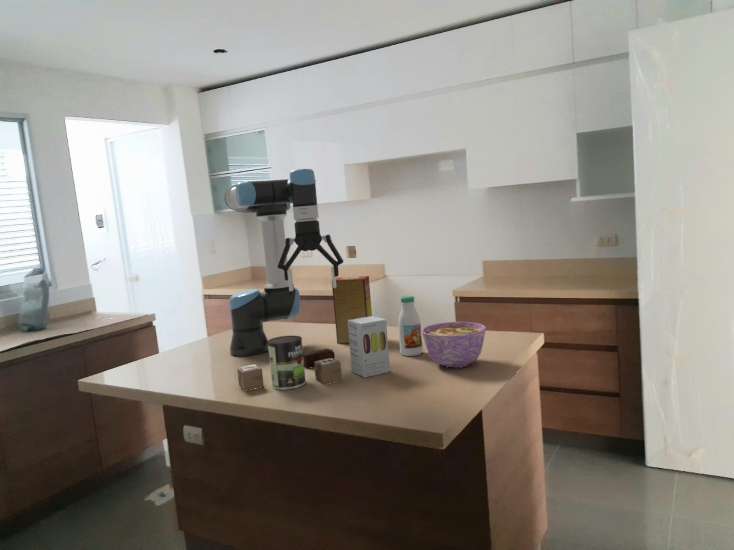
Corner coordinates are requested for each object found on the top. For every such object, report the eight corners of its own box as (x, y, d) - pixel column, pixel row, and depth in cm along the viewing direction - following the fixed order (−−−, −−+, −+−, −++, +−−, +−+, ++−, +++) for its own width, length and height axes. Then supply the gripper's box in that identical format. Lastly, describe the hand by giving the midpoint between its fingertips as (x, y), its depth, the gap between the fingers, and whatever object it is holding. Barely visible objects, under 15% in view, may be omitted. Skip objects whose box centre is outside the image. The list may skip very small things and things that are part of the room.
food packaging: (374, 337, 222) (369, 275, 219) (369, 342, 213) (364, 278, 210) (342, 338, 225) (337, 277, 223) (336, 343, 216) (330, 280, 214)
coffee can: (312, 381, 170) (308, 336, 169) (291, 391, 162) (286, 344, 160) (287, 378, 176) (282, 334, 174) (264, 388, 167) (260, 342, 166)
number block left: (239, 387, 171) (236, 367, 170) (258, 382, 174) (255, 363, 173) (244, 391, 166) (242, 371, 165) (263, 387, 168) (261, 367, 168)
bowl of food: (438, 354, 189) (436, 320, 188) (496, 357, 179) (494, 322, 178) (413, 371, 172) (410, 334, 171) (475, 376, 162) (473, 337, 161)
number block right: (316, 380, 171) (314, 360, 170) (333, 376, 174) (332, 357, 173) (323, 385, 165) (321, 364, 165) (342, 381, 168) (340, 360, 168)
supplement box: (363, 378, 169) (359, 324, 167) (350, 371, 177) (346, 319, 175) (391, 371, 173) (386, 318, 171) (377, 365, 181) (372, 315, 179)
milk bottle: (397, 356, 190) (392, 298, 188) (404, 350, 198) (400, 295, 195) (419, 357, 188) (414, 298, 185) (425, 351, 195) (421, 294, 192)
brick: (307, 369, 184) (306, 355, 184) (302, 367, 188) (301, 353, 187) (335, 362, 190) (334, 349, 189) (329, 360, 193) (328, 347, 193)
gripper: (263, 224, 167) (270, 293, 170) (345, 217, 165) (351, 287, 168) (269, 223, 175) (276, 290, 177) (348, 216, 173) (354, 284, 175)
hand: (313, 289), depth 173 cm, fingers open, 13 cm apart
